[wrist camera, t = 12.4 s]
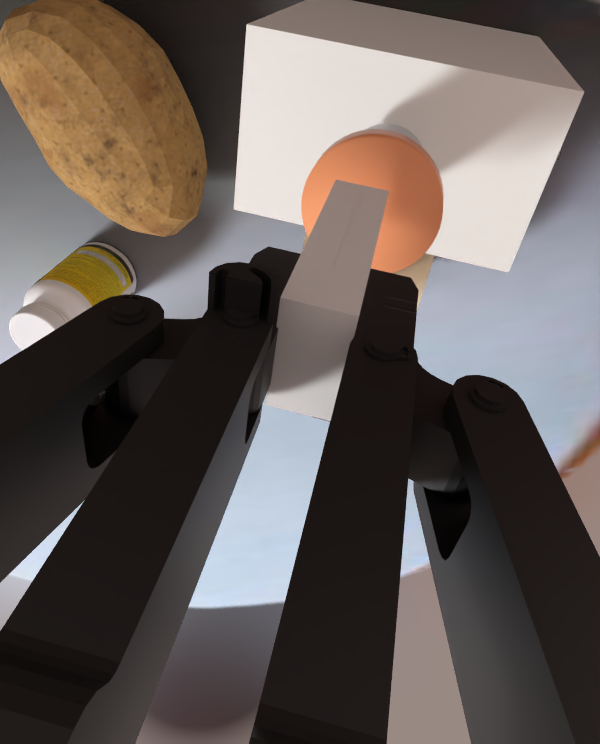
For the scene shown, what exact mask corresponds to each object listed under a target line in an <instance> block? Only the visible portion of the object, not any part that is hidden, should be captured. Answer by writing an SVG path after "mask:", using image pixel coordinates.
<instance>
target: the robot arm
mask: <svg viewBox="0 0 600 744" xmlns="http://www.w3.org/2000/svg"><path fill="white" fill-rule="evenodd" d="M388 194H389V191H387V190H382V189H378V188H373V187H368V186H364V185H359V184H355V183H350V182H345V181H341V180H335V182H334V184H333V187H332V189H331V191H330V193H329V195H328V197H327V199H326V202H325V204H324V206H323V208H322V210H321V212H320V214H319V216H318V219H317V221H316V223H315V225H314V227H313V229H312V231H311V233H310V236H309V238H308V240H307V242H306V244H305V246H304V248H303V251H302V253H301V254H299V253H294V252H290V251H285V250H281V249H277V248H272V247H267V248H265V249H263V250H261V251H260V252H258V253H256V254H255V255H254V256H253V258H252V259H251V261H250V263H241V262H237V263H226V264H223V265H220V266H217V267H215V268H214V269H213V270H211V271H210V272H209V290H208V309H207V311H206V312H205V314H204V316H203V317H202V318H197V319H164V310H163V309H162V307H161V306H160V304H159V303H157V302H155V301H154V300H152V299H150V298H147V297H143V296H140V295H131V294H125V295H118V296H112V297H109V298H107V299H105V300H102V301H100V302H98V303H97V304H95V305H94V306H92V307H91V308H89V309H87V310H86V311H84V312H83V313H81V314H79V315H78V316H76V317H75V318H73V319H72V320H70V321H68V322H67V323H65V324H64V325H62V326H60V327H59V328H57V329H56V330H54V331H52V332H51V333H49V334H48V335H46V336H45V337H43V338H41V339H40V340H38V341H37V342H35V343H33V344H32V345H30V346H29V347H27V348H26V349H24V350H22V351H21V352H19V353H18V354H16V355H14V356H13V357H11V358H10V359H8V360H7V361H5V362H3V363H2V364H0V582H1V581H2V580H3V579H4V578H5V577H6V576H7V575H8V574H9V573H10V572H11V571H12V570H14V569H15V568H16V567H17V566H18V565H19V564H20V563H21V562H22V561H23V560H24V559H25V558H26V557H27V556H28V555H29V554H30V553H31V552H32V551H33V550H34V549H35V548H36V547H37V546H38V545H39V544H40V543H41V542H42V541H43V540H44V539H45V538H46V537H47V536H48V535H49V534H50V533H51V532H52V531H53V530H54V529H55V528H56V527H57V526H59V525H60V524H61V523H62V522H63V521H64V520H65V519H66V518H67V517H68V516H69V515H70V514H71V513H72V512H73V511H74V510H75V509H76V508H77V507H78V506H79V505H80V504H81V503H82V502H83V501H84V500H85V501H84V502H83V504H82V505H81V507H80V508H79V510H78V511H77V513H76V515H75V516H74V518H73V519H72V521H71V522H70V524H69V525H68V527H67V529H66V530H65V532H64V533H63V535H62V536H61V538H60V539H59V541H58V543H57V544H56V546H55V547H54V549H53V550H52V552H51V553H50V555H49V557H48V558H47V560H46V561H45V563H44V564H43V566H42V567H41V569H40V571H39V572H38V574H37V575H36V577H35V578H34V580H33V581H32V583H31V585H30V586H29V588H28V589H27V591H26V592H25V594H24V596H23V597H22V599H21V600H20V602H19V603H18V605H17V606H16V608H15V609H14V611H13V613H12V614H11V616H10V617H9V619H8V620H7V622H6V624H5V625H4V627H3V628H2V630H1V631H0V744H135V743H136V740H137V737H138V735H139V732H140V730H141V727H142V725H143V722H144V719H145V717H146V714H147V712H148V709H149V706H150V704H151V701H152V699H153V696H154V693H155V691H156V688H157V686H158V683H159V681H160V678H161V676H162V673H163V670H164V668H165V665H166V663H167V660H168V657H169V655H170V652H171V650H172V647H173V645H174V642H175V639H176V637H177V634H178V632H179V629H180V626H181V624H182V621H183V619H184V616H185V613H186V611H187V608H188V606H189V603H190V601H191V598H192V596H193V593H194V590H195V588H196V585H197V583H198V580H199V577H200V575H201V572H202V570H203V567H204V565H205V562H206V559H207V557H208V554H209V552H210V549H211V546H212V544H213V541H214V539H215V536H216V534H217V531H218V528H219V526H220V523H221V521H222V518H223V515H224V513H225V510H226V508H227V505H228V503H229V500H230V497H231V495H232V492H233V490H234V487H235V485H236V482H237V479H238V477H239V474H240V472H241V469H242V466H243V464H244V461H245V459H246V456H247V454H248V451H249V448H250V446H251V443H252V441H253V438H254V435H255V433H256V430H257V428H258V425H259V423H260V417H261V410H262V403H263V401H264V398H265V396H266V393H267V398H266V405H268V406H272V407H276V408H280V409H284V410H288V411H292V412H296V413H300V414H304V415H308V416H312V417H316V418H320V419H324V420H328V421H330V425H329V429H328V433H327V437H326V441H325V445H324V449H323V453H322V457H321V461H320V465H319V469H318V472H317V476H316V480H315V484H314V488H313V492H312V496H311V500H310V504H309V508H308V512H307V516H306V520H305V524H304V528H303V532H302V536H301V540H300V544H299V548H298V552H297V556H296V560H295V564H294V568H293V572H292V576H291V580H290V584H289V588H288V592H287V596H286V600H285V604H284V608H283V612H282V616H281V620H280V624H279V628H278V632H277V636H276V639H275V643H274V647H273V651H272V655H271V660H270V663H269V667H268V671H267V675H266V679H265V683H264V687H263V691H262V695H261V699H260V703H259V707H258V711H257V715H256V719H255V723H254V727H253V730H252V734H251V738H250V742H249V744H386V743H387V729H388V717H389V705H390V693H391V680H392V668H393V657H394V644H395V632H396V620H397V619H396V618H397V608H398V595H399V583H400V571H401V559H402V547H403V535H404V522H405V510H406V498H407V486H408V478H409V479H411V480H413V481H414V494H415V499H416V503H417V507H418V512H419V516H420V521H421V525H422V529H423V534H424V538H425V543H426V547H427V551H428V556H429V560H430V564H431V569H432V573H433V577H434V582H435V586H436V591H437V595H438V599H439V604H440V608H441V612H442V617H443V621H444V626H445V630H446V634H447V639H448V643H449V648H450V652H451V657H452V661H453V665H454V670H455V674H456V678H457V683H458V687H459V692H460V696H461V700H462V705H463V709H464V714H465V718H466V722H467V727H468V731H469V735H470V740H471V744H600V557H599V555H598V553H597V551H596V549H595V546H594V544H593V542H592V540H591V539H590V536H589V534H588V532H587V530H586V528H585V526H584V524H583V522H582V520H581V518H580V516H579V514H578V512H577V510H576V508H575V506H574V504H573V502H572V500H571V498H570V495H569V494H568V491H567V489H566V487H565V485H564V483H563V481H562V479H561V477H560V475H559V473H558V471H557V469H556V467H555V465H554V463H553V461H552V459H551V457H550V455H549V453H548V450H547V448H546V446H545V444H544V442H543V440H542V438H541V436H540V434H539V432H538V430H537V428H536V426H535V424H534V422H533V420H532V418H531V416H530V414H529V412H528V410H527V408H526V406H525V404H524V402H523V400H522V399H521V398H520V396H519V395H518V394H517V392H515V391H514V390H513V389H512V388H510V387H509V386H508V385H506V384H505V383H502V382H500V381H498V380H496V379H494V378H490V377H486V376H481V375H467V376H464V377H462V378H459V379H457V380H456V382H455V383H454V385H451V384H449V383H447V382H445V381H442V380H440V379H438V378H437V377H435V376H433V375H431V374H430V373H429V372H427V371H426V370H425V369H423V368H422V366H421V365H420V364H419V363H418V357H417V353H416V350H415V349H414V348H413V347H414V336H415V325H416V312H417V302H418V292H419V290H418V288H417V287H416V285H415V283H414V282H413V280H412V278H411V277H406V276H402V275H398V274H393V273H389V272H384V271H380V270H376V269H371V265H372V260H373V256H374V252H375V248H376V244H377V240H378V235H379V231H380V227H381V223H382V219H383V215H384V210H385V206H386V202H387V198H388Z"/></svg>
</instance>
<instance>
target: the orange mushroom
mask: <svg viewBox="0 0 600 744" xmlns="http://www.w3.org/2000/svg"><path fill="white" fill-rule="evenodd" d="M335 180H341V181H345V182H350V183H355V184H359V185H364V186H368V187H373V188H378V189H382V190H387V191H389V194H388V198H387V202H386V206H385V210H384V215H383V219H382V223H381V227H380V231H379V235H378V240H377V244H376V248H375V252H374V256H373V260H372V265H371V269H376V270H380V271H384V272H389V273H394V272H397V271H400V270H402V269H404V268H406V267H408V266H410V265H411V264H413V263H414V262H416V261H417V260H418V259H419V258H421V257H422V256H423V255H424V254H425V253H426V252H427V250H428V249H429V248H430V246H431V245H432V244H433V242H434V240H435V238H436V236H437V234H438V231H439V229H440V225H441V221H442V215H443V201H444V192H443V184H442V179H441V176H440V173H439V170H438V168H437V166H436V164H435V162H434V161H433V159H432V158H431V156H430V155H429V154H428V153H427V152H426V150H425V149H424V148H423V147H422V145H421V143H420V141H419V140H418V138H417V137H416V136H415V135H414V134H413V133H412V132H411V131H409V130H408V129H406V128H404V127H402V126H399V125H396V124H390V123H383V124H377V125H374V126H371V127H369V128H367V129H365V130H361V131H357V132H354V133H351V134H349V135H347V136H344V137H342V138H341V139H339V140H338V141H336V142H335V143H333V144H332V145H331V146H330V147H329V148H328V149H327V150H326V151H325V152H324V153H323V154H322V155H321V157H320V158H319V160H318V161H317V163H316V164H315V166H314V167H313V169H312V171H311V172H310V174H309V176H308V178H307V180H306V183H305V186H304V189H303V194H302V201H301V212H302V219H303V224H304V227H305V230H306V232H307V235H308V237H309V236H310V233H311V231H312V229H313V227H314V225H315V223H316V221H317V219H318V216H319V214H320V212H321V210H322V208H323V206H324V204H325V202H326V199H327V197H328V195H329V193H330V191H331V189H332V187H333V184H334V182H335Z"/></svg>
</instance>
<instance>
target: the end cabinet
mask: <svg viewBox="0 0 600 744" xmlns="http://www.w3.org/2000/svg"><path fill="white" fill-rule="evenodd" d="M583 94H584V91H583V90H582V88H581V87H580V86H579V85H578V83H577V82H576V81H575V80H574V79H573V77H572V76H571V75H570V74H569V73H568V71H567V70H566V69H565V68H564V66H563V65H562V64H561V63H560V62H559V60H558V59H557V58H556V57H555V55H554V54H553V53H552V52H551V51H550V49H549V48H548V47H547V46H546V45H545V43H544V42H543V41H542V40H541V38H540V37H538V36H533V35H528V34H523V33H518V32H512V31H507V30H502V29H497V28H492V27H487V26H481V25H476V24H471V23H466V22H461V21H456V20H450V19H445V18H440V17H435V16H430V15H425V14H420V13H414V12H409V11H404V10H399V9H394V8H389V7H383V6H378V5H373V4H368V3H363V2H358V1H353V0H305V1H303V2H300V3H298V4H295V5H293V6H290V7H288V8H285V9H283V10H280V11H278V12H275V13H273V14H271V15H268V16H266V17H263V18H261V19H258V20H256V21H253V22H251V23H248V24H247V26H246V40H245V54H244V69H243V83H242V97H241V112H240V126H239V140H238V155H237V169H236V183H235V198H234V210H239V211H243V212H247V213H252V214H256V215H261V216H265V217H269V218H274V219H278V220H282V221H287V222H291V223H295V224H300V225H304V224H303V219H302V212H301V201H302V194H303V189H304V186H305V183H306V180H307V178H308V176H309V174H310V172H311V171H312V169H313V167H314V166H315V164H316V163H317V161H318V160H319V158H320V157H321V155H322V154H323V153H324V152H325V151H326V150H327V149H328V148H329V147H330V146H331V145H332V144H333V143H335V142H336V141H338V140H339V139H341V138H342V137H344V136H347V135H349V134H351V133H354V132H357V131H361V130H365V129H367V128H369V127H371V126H374V125H377V124H383V123H390V124H396V125H399V126H402V127H404V128H406V129H408V130H409V131H411V132H412V133H413V134H414V135H415V136H416V137H417V138H418V140H419V141H420V143H421V145H422V147H423V148H424V149H425V150H426V152H427V153H428V154H429V155H430V156H431V158H432V159H433V161H434V162H435V164H436V166H437V168H438V170H439V173H440V176H441V179H442V184H443V192H444V201H443V215H442V221H441V225H440V229H439V231H438V234H437V236H436V238H435V240H434V242H433V244H432V245H431V246H430V248H429V249H428V250H427V252H426V254H430V255H435V256H439V257H443V258H448V259H452V260H456V261H461V262H465V263H470V264H474V265H478V266H483V267H487V268H491V269H496V270H500V271H504V272H509V270H510V268H511V265H512V263H513V260H514V258H515V256H516V253H517V251H518V249H519V246H520V244H521V241H522V239H523V237H524V234H525V232H526V230H527V227H528V225H529V222H530V220H531V218H532V215H533V213H534V211H535V208H536V206H537V204H538V201H539V199H540V196H541V194H542V192H543V189H544V187H545V185H546V182H547V180H548V177H549V175H550V173H551V170H552V168H553V166H554V163H555V161H556V160H558V159H559V157H560V154H561V151H560V149H561V147H562V144H563V142H564V139H565V137H566V135H567V132H568V130H569V128H570V125H571V123H572V121H573V118H574V116H575V113H576V111H577V109H578V106H579V104H580V102H581V99H582V97H583Z"/></svg>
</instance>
